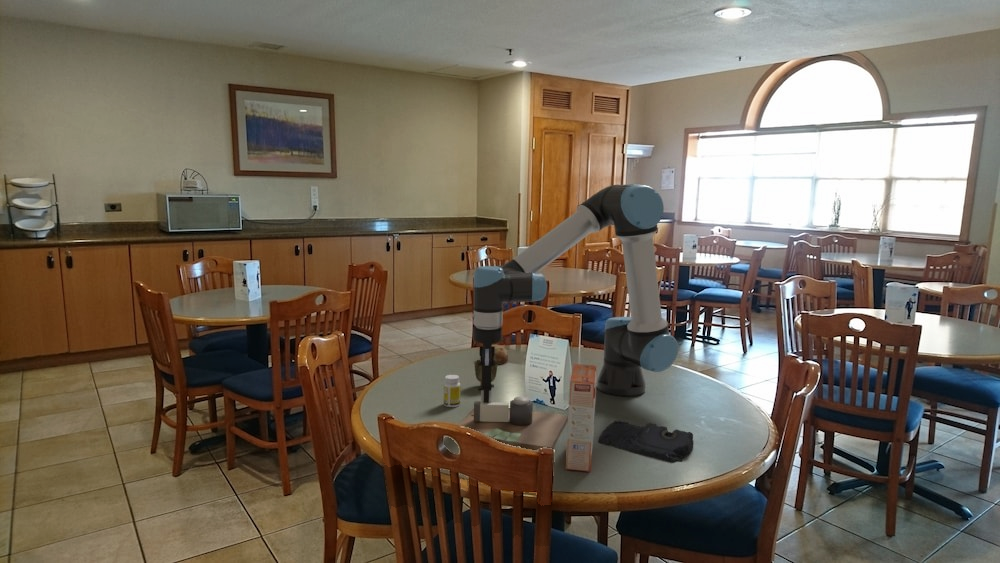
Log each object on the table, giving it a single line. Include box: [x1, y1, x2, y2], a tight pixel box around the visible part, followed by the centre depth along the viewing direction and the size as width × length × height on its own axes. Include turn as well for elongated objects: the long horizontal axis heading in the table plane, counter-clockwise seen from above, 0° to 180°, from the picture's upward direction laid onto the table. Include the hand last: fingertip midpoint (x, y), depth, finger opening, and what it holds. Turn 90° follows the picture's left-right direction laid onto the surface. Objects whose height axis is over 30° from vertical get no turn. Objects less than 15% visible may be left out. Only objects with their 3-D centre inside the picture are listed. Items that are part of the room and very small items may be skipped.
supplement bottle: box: [443, 374, 461, 408], centre depth 173 cm, size 5×5×8 cm
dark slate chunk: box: [598, 419, 694, 464], centre depth 150 cm, size 15×22×5 cm
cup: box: [474, 359, 499, 387], centre depth 190 cm, size 8×7×8 cm
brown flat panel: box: [458, 407, 568, 450], centre depth 157 cm, size 26×23×1 cm
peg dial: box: [473, 396, 534, 425], centre depth 158 cm, size 15×6×6 cm, turn 89°
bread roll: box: [491, 343, 509, 365], centre depth 220 cm, size 10×10×8 cm
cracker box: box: [565, 363, 597, 473], centre depth 139 cm, size 14×6×21 cm, turn 170°
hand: (485, 412), depth 160 cm, fingers closed
